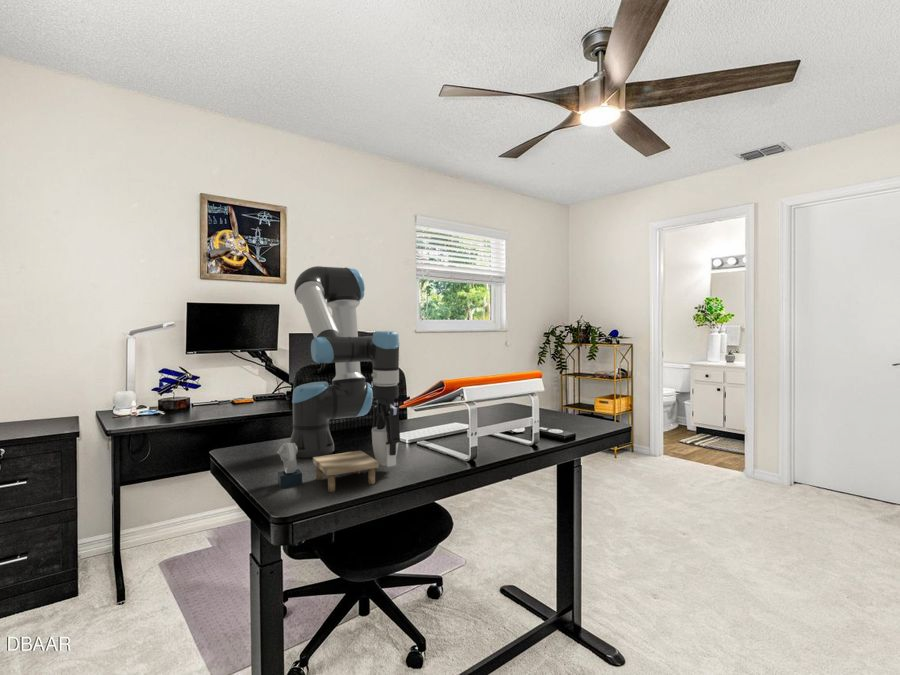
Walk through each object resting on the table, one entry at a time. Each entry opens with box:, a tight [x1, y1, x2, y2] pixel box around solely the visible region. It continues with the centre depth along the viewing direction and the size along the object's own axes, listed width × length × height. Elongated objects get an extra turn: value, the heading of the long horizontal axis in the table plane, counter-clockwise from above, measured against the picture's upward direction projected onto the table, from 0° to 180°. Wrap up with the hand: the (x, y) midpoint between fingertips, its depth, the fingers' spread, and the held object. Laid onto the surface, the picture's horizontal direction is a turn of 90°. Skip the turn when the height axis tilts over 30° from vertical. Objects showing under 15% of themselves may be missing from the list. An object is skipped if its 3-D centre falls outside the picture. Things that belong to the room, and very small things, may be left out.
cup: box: [371, 426, 400, 466], centre depth 140 cm, size 8×8×10 cm
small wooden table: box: [312, 450, 380, 493], centre depth 131 cm, size 14×14×6 cm
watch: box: [277, 442, 303, 489], centre depth 129 cm, size 6×8×11 cm
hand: (385, 461), depth 140 cm, fingers closed on cup, 8 cm apart
